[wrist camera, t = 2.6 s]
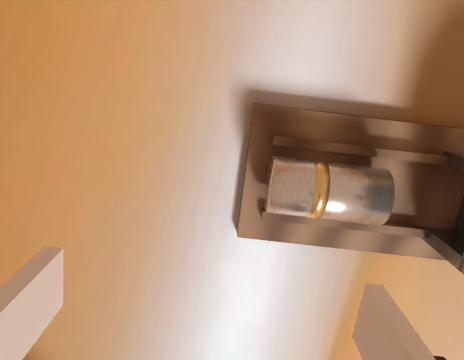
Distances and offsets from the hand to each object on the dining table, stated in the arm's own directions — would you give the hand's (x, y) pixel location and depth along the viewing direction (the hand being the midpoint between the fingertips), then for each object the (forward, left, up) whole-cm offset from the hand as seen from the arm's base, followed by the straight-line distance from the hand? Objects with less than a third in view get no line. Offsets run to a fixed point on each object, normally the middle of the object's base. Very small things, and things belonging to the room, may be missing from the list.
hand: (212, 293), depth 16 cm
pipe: (+9, 0, -20) cm, 22 cm away
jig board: (+18, 0, -21) cm, 28 cm away
